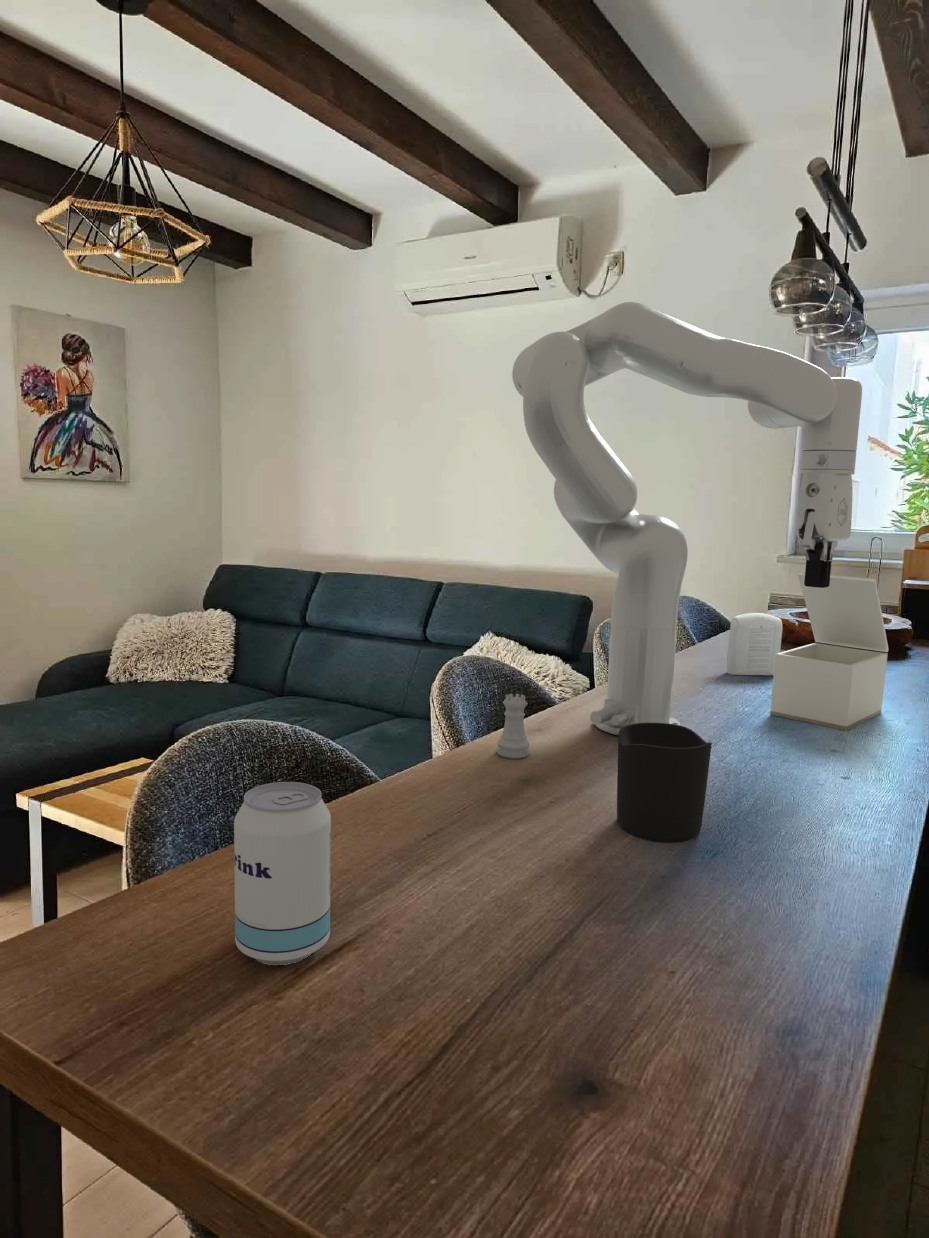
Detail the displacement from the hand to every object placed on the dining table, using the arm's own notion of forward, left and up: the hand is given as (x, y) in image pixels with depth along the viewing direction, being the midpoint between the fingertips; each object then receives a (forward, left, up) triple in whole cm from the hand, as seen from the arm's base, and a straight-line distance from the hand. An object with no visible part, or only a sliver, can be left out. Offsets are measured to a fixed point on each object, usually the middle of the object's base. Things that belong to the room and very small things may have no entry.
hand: (816, 586), depth 127 cm
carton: (+10, 0, -22) cm, 24 cm away
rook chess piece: (-46, +20, -22) cm, 55 cm away
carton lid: (+13, 0, -5) cm, 14 cm away
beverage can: (-95, +1, -22) cm, 98 cm away
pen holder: (-53, -6, -22) cm, 58 cm away
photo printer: (+30, +22, -22) cm, 43 cm away
